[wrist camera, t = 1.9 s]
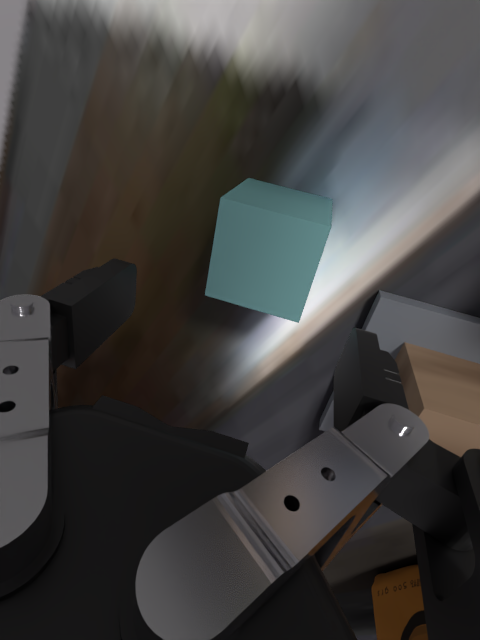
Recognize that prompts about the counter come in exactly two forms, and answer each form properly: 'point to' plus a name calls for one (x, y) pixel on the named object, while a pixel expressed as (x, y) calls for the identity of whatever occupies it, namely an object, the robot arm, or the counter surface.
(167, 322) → the counter surface
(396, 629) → the coffee package
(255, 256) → the teal block
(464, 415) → the walnut block
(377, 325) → the slate pad
